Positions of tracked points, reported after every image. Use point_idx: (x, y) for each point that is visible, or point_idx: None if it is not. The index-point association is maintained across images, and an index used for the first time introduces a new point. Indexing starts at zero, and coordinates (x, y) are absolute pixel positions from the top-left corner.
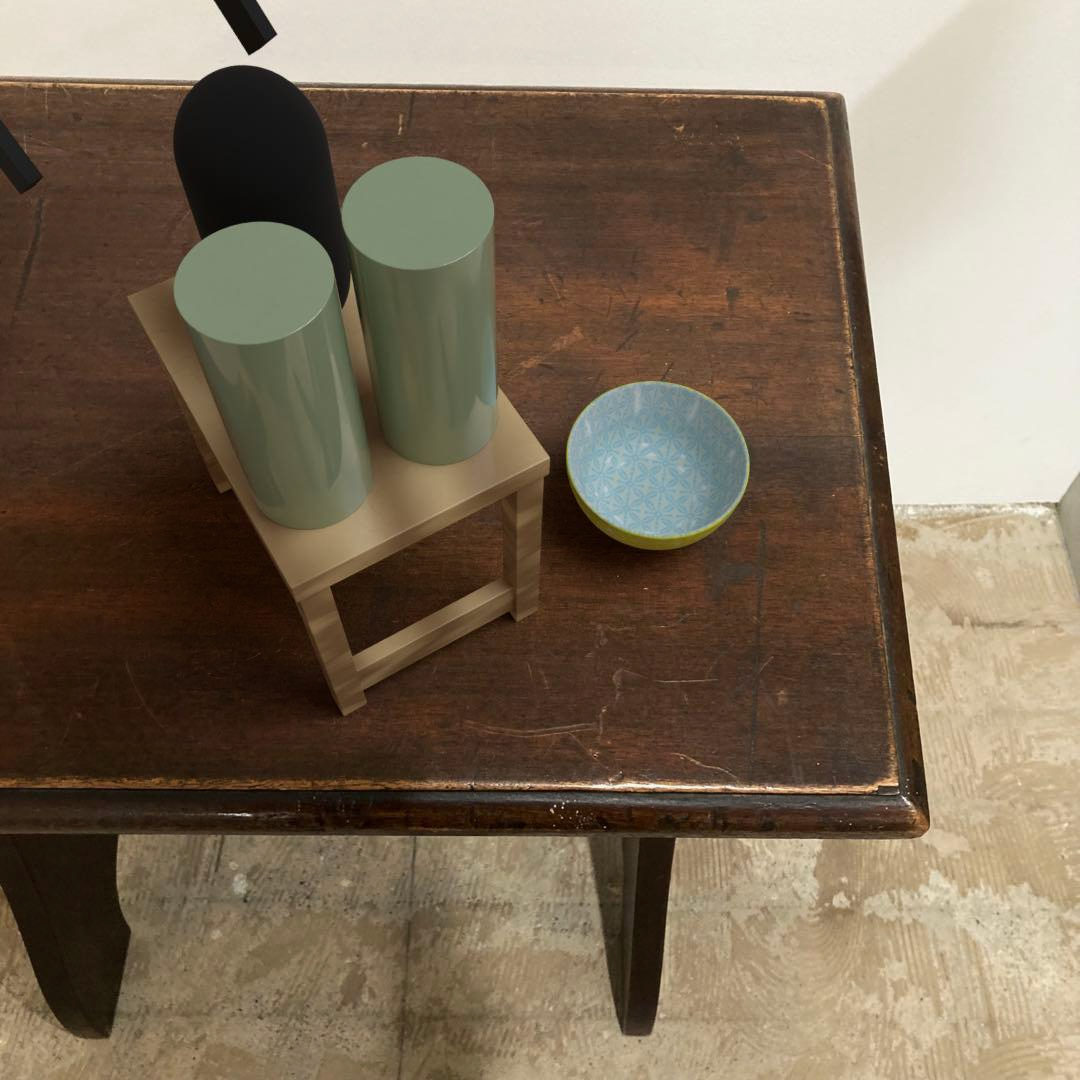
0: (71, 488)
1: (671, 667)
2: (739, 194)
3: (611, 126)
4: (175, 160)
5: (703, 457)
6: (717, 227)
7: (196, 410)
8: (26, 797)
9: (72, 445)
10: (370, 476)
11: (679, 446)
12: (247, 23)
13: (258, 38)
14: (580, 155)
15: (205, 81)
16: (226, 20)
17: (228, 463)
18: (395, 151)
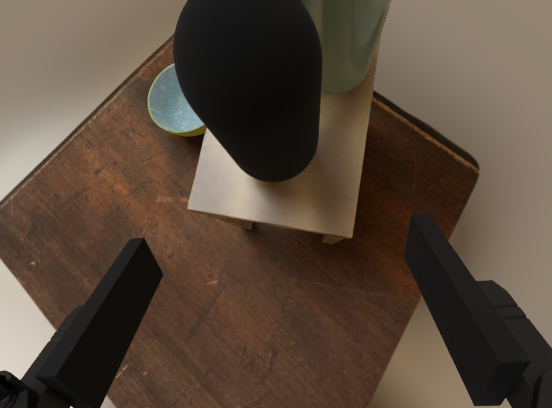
0: (390, 284)
1: None
2: (49, 212)
3: (52, 288)
4: (317, 80)
5: (170, 105)
6: (71, 204)
7: (363, 135)
8: (477, 163)
9: (378, 306)
10: None
11: (173, 117)
12: (139, 264)
13: (145, 250)
14: (77, 283)
15: (248, 34)
16: (149, 303)
17: (368, 94)
18: (137, 356)
